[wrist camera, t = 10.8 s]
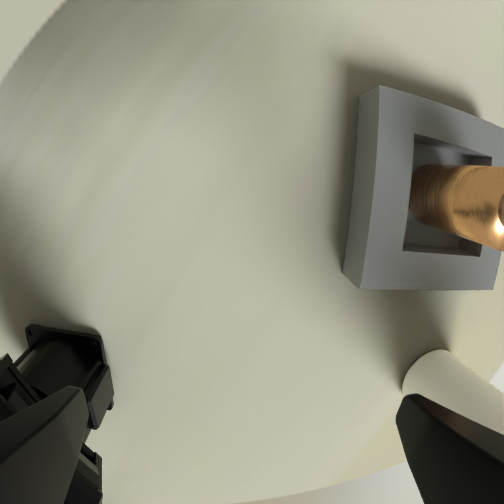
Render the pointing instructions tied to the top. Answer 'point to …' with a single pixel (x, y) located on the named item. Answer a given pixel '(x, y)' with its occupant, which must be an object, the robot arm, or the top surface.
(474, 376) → the drinking glass
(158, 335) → the top surface
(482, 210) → the battery cell
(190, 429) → the top surface
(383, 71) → the top surface
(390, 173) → the gray cradle
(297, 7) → the top surface
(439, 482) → the robot arm
